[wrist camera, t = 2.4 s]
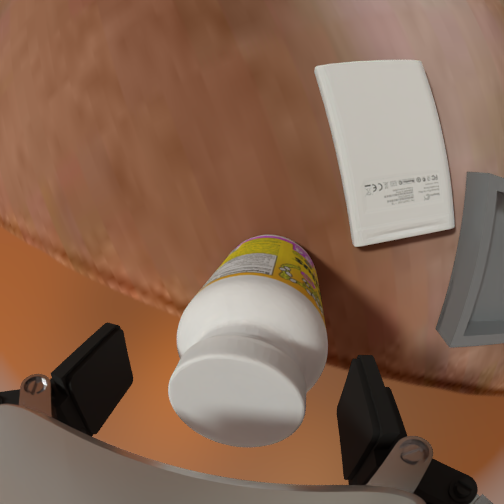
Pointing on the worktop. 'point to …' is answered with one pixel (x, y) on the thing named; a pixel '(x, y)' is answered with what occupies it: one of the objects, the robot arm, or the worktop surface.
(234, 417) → the supplement bottle
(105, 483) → the robot arm
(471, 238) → the tray
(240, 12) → the worktop surface
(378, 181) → the external hard drive
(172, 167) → the worktop surface
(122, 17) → the worktop surface
